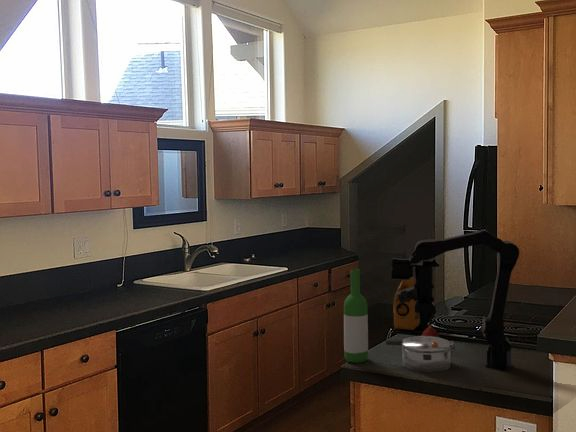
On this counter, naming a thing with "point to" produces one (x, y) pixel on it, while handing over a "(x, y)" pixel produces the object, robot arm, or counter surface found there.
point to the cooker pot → (426, 360)
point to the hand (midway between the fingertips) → (424, 328)
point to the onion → (430, 332)
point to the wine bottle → (355, 323)
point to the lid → (423, 344)
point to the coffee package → (405, 309)
